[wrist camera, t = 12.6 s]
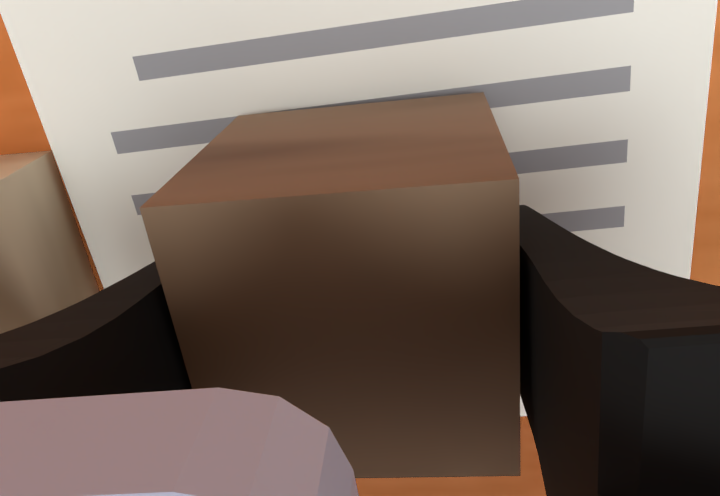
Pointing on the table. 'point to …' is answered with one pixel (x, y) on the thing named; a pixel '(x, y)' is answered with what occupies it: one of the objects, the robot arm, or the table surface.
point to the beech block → (38, 242)
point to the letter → (381, 98)
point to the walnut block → (357, 277)
